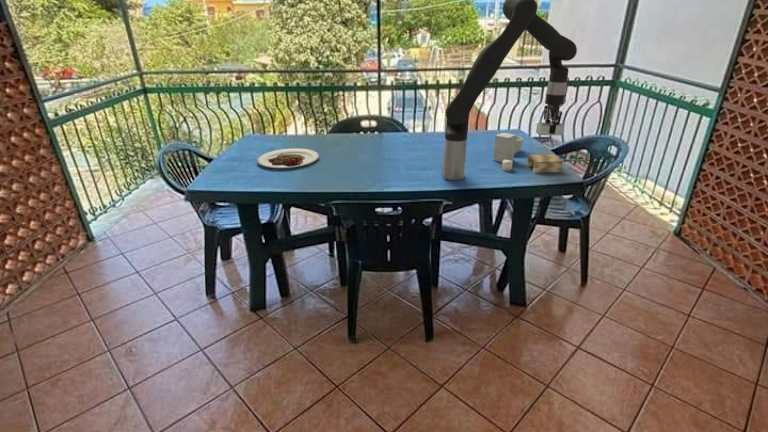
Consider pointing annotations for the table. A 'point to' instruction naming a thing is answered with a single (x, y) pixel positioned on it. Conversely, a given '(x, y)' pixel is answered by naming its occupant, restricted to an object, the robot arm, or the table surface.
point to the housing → (545, 129)
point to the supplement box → (504, 147)
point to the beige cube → (507, 165)
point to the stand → (544, 163)
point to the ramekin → (518, 144)
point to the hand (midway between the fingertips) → (549, 131)
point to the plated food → (288, 158)
